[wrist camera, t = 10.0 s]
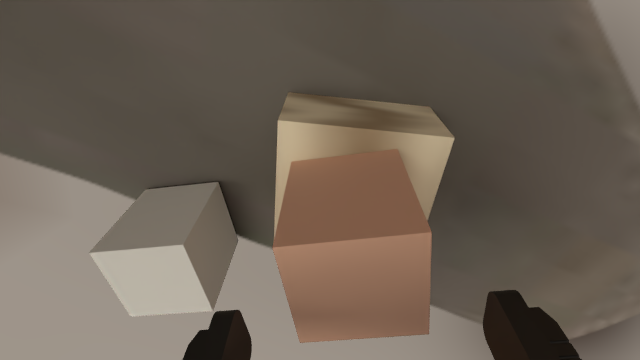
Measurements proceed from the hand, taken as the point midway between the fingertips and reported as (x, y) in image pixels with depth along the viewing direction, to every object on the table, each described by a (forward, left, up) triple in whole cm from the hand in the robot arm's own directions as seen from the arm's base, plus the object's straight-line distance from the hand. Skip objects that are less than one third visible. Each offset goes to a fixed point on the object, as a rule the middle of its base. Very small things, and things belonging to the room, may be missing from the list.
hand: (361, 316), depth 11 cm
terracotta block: (0, 0, -7) cm, 7 cm away
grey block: (-11, -3, -11) cm, 16 cm away
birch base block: (0, 0, -11) cm, 11 cm away
